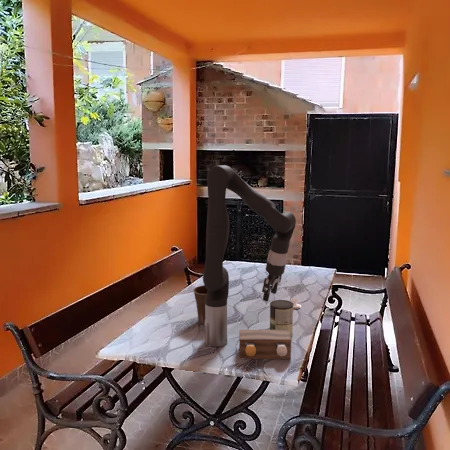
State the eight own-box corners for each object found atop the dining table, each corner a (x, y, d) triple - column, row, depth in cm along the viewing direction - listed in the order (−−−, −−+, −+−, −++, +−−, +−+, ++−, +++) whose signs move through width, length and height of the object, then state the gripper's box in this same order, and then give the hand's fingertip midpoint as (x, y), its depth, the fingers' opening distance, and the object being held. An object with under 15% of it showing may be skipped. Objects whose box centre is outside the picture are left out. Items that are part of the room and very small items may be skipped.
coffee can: (265, 334, 215) (265, 303, 213) (277, 327, 223) (278, 298, 220) (284, 340, 208) (285, 308, 206) (297, 333, 216) (297, 302, 214)
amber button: (255, 356, 185) (256, 346, 184) (245, 356, 185) (245, 346, 184) (255, 349, 191) (255, 339, 191) (244, 349, 192) (244, 339, 191)
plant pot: (197, 329, 220) (197, 295, 218) (190, 317, 236) (190, 286, 233) (231, 326, 225) (231, 292, 222) (222, 314, 240) (222, 283, 237)
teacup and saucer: (301, 310, 247) (301, 302, 247) (285, 309, 249) (285, 301, 248) (302, 304, 256) (302, 297, 255) (286, 304, 257) (287, 296, 257)
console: (290, 358, 190) (291, 339, 189) (240, 358, 190) (240, 339, 189) (287, 348, 200) (288, 329, 198) (239, 348, 200) (239, 329, 199)
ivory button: (287, 356, 185) (287, 346, 184) (276, 356, 185) (276, 346, 184) (285, 349, 191) (285, 339, 191) (275, 349, 191) (275, 339, 191)
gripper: (274, 253, 199) (267, 287, 204) (261, 263, 187) (254, 300, 192) (291, 258, 196) (284, 293, 201) (278, 269, 184) (271, 306, 189)
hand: (269, 296), depth 197 cm, fingers open, 8 cm apart
